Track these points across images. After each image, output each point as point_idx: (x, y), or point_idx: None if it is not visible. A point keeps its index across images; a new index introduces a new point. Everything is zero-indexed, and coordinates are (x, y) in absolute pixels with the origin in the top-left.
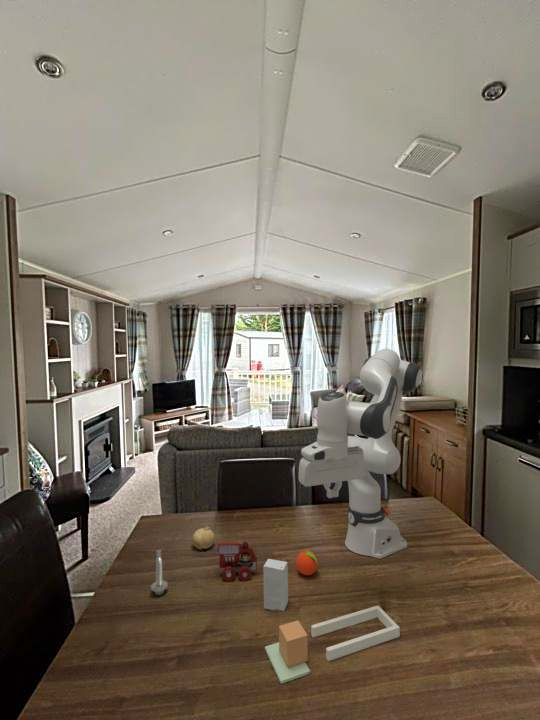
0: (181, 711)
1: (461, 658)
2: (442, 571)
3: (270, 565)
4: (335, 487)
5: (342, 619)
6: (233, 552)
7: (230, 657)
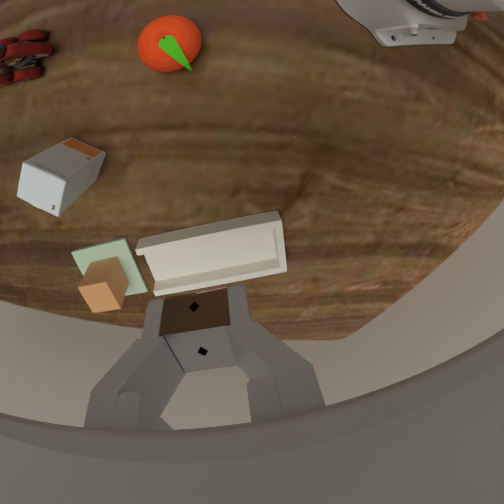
0: (19, 304)
1: (338, 292)
2: (453, 133)
3: (29, 196)
4: (245, 358)
5: (195, 243)
6: None
7: (36, 256)
